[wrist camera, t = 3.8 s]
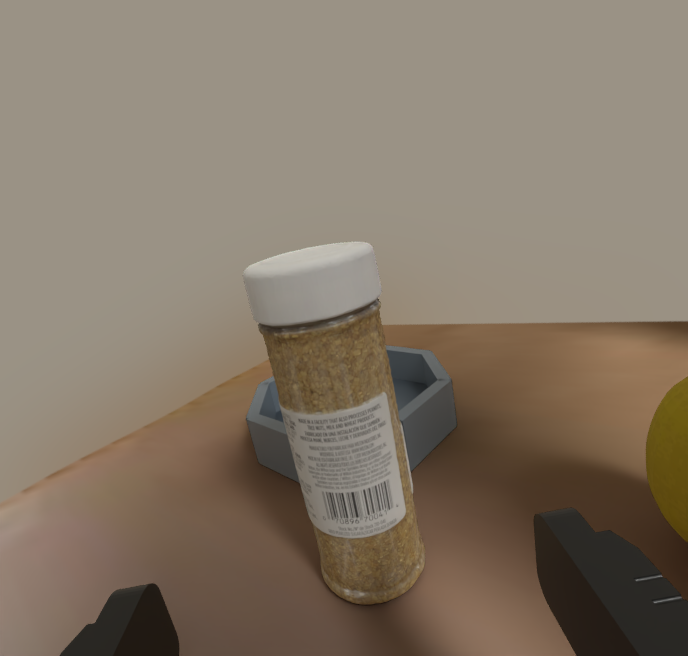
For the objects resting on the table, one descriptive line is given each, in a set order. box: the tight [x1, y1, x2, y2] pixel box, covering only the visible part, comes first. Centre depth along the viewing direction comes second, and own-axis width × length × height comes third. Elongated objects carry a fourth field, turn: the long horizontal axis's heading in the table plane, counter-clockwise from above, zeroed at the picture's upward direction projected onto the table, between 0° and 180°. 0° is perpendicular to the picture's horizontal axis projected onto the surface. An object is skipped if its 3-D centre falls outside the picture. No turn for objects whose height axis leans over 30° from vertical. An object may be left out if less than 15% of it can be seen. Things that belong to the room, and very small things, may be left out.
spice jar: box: [243, 242, 425, 605], centre depth 16 cm, size 5×5×14 cm
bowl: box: [246, 345, 457, 483], centre depth 29 cm, size 13×13×3 cm
